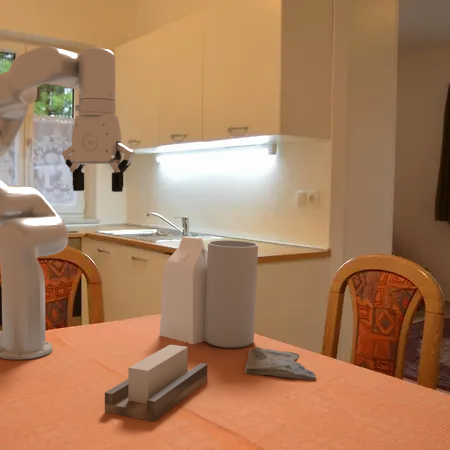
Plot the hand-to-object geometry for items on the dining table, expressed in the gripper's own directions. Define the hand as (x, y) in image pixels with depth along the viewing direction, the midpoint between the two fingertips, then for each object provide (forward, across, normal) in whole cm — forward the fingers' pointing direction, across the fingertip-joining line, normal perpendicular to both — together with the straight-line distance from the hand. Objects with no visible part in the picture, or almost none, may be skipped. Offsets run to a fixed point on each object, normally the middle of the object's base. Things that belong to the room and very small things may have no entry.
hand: (97, 191), depth 124 cm
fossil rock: (+39, +36, +18) cm, 56 cm away
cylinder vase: (+38, +19, +30) cm, 52 cm away
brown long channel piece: (+38, +20, -9) cm, 44 cm away
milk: (+39, +7, +32) cm, 51 cm away
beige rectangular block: (+37, +20, -9) cm, 43 cm away
